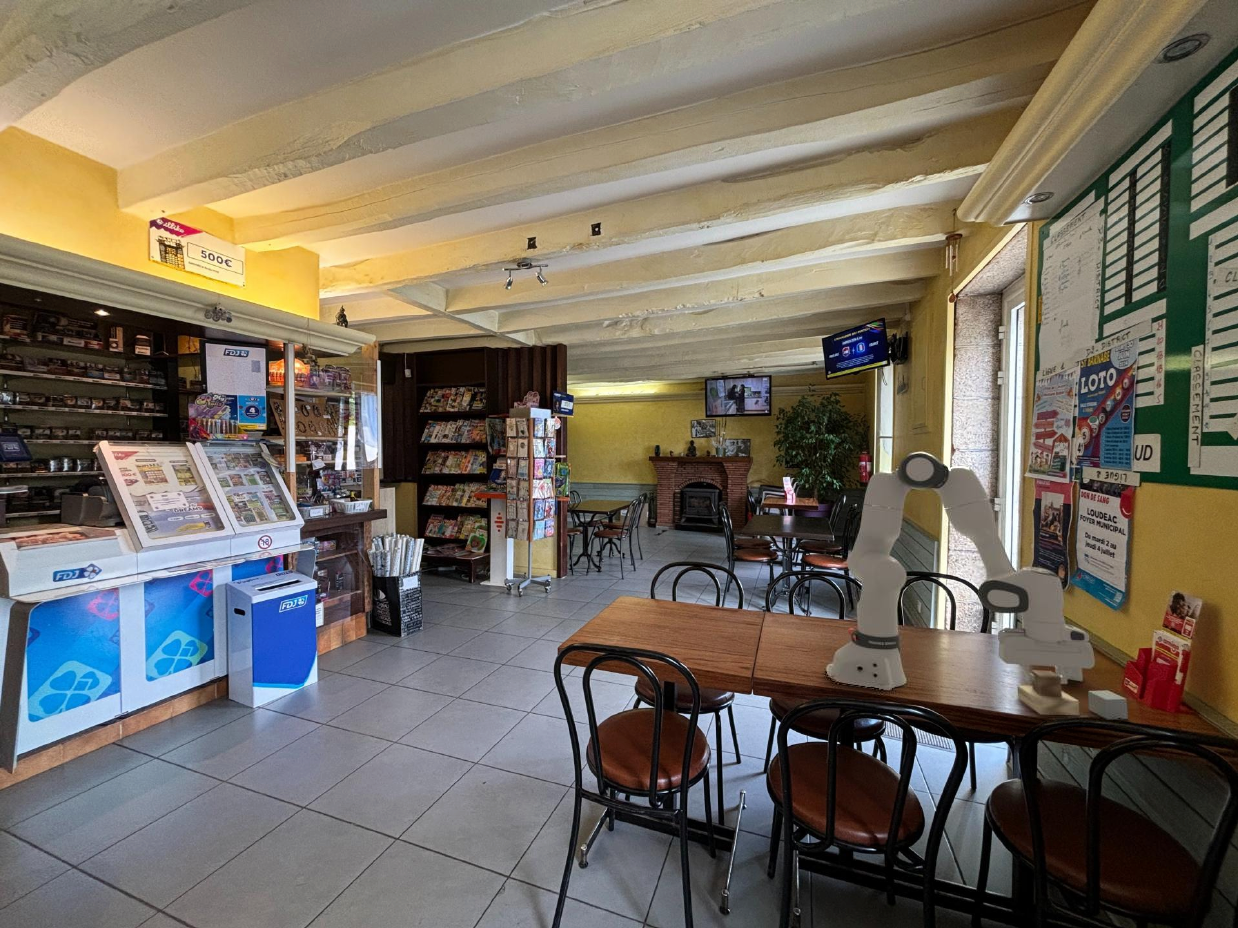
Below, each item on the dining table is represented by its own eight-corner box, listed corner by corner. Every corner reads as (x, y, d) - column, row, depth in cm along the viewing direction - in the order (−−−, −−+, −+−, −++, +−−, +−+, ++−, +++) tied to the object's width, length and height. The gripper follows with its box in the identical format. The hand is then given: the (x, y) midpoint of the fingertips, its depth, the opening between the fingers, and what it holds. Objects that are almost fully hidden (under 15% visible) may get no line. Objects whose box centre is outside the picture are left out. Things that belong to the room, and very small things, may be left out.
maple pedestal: (1040, 715, 131) (1039, 700, 131) (1018, 700, 140) (1017, 685, 140) (1079, 716, 130) (1078, 700, 130) (1054, 700, 138) (1053, 685, 139)
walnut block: (1041, 695, 133) (1040, 676, 133) (1032, 688, 138) (1031, 669, 138) (1061, 697, 132) (1060, 677, 132) (1052, 689, 136) (1051, 670, 136)
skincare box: (1082, 677, 151) (1080, 636, 151) (1082, 682, 148) (1080, 640, 148) (1055, 672, 155) (1053, 632, 156) (1054, 677, 152) (1052, 636, 152)
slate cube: (1107, 719, 127) (1106, 699, 127) (1089, 710, 132) (1088, 690, 132) (1127, 719, 127) (1126, 698, 127) (1109, 709, 132) (1107, 690, 132)
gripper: (1002, 631, 135) (1005, 683, 135) (1097, 635, 129) (1099, 689, 129) (992, 624, 141) (995, 674, 141) (1082, 627, 135) (1085, 679, 135)
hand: (1046, 681), depth 135 cm, fingers open, 6 cm apart
